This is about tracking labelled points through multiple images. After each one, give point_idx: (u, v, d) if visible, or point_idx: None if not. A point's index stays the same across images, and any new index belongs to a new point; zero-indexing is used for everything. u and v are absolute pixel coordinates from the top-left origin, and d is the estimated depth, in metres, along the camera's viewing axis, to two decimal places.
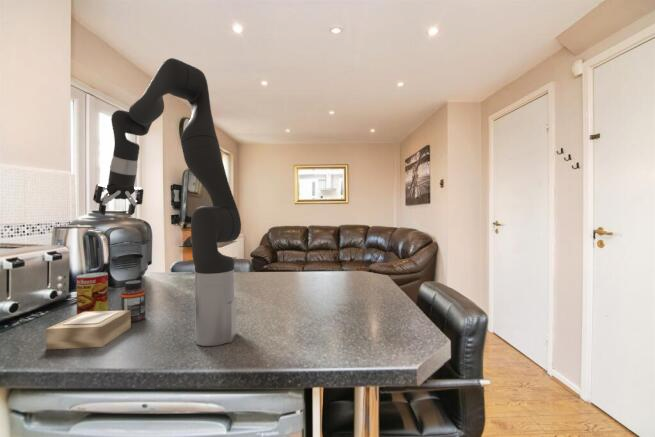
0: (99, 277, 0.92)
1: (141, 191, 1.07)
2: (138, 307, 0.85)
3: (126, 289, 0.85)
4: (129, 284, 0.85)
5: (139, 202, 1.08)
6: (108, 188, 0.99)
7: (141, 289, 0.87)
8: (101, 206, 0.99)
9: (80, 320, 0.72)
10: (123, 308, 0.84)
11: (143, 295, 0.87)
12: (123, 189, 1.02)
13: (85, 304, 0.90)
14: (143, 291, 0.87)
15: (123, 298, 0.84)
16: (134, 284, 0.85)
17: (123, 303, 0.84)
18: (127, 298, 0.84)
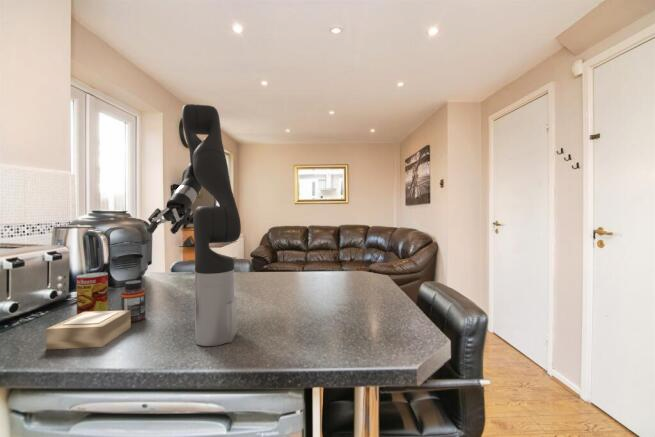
0: (99, 277, 0.92)
1: (188, 209, 1.03)
2: (138, 307, 0.85)
3: (126, 289, 0.85)
4: (129, 284, 0.85)
5: (183, 218, 1.00)
6: (163, 210, 1.05)
7: (141, 289, 0.87)
8: (151, 224, 1.01)
9: (80, 320, 0.72)
10: (123, 308, 0.84)
11: (143, 295, 0.87)
12: None
13: (85, 304, 0.90)
14: (143, 291, 0.87)
15: (123, 298, 0.84)
16: (134, 284, 0.85)
17: (123, 303, 0.84)
18: (127, 298, 0.84)
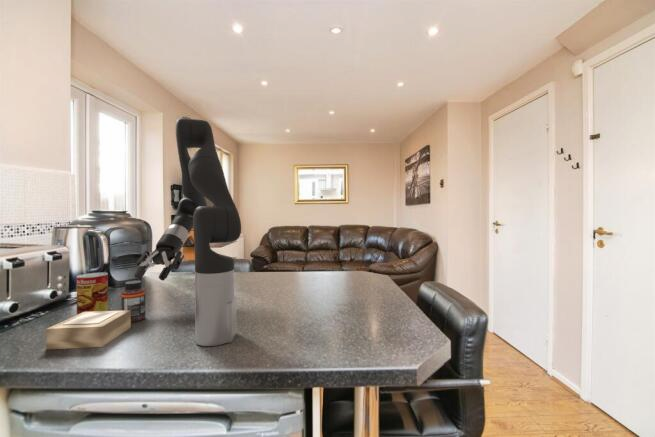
0: (99, 277, 0.92)
1: (178, 252, 0.98)
2: (138, 307, 0.85)
3: (126, 289, 0.85)
4: (129, 284, 0.85)
5: None
6: (152, 252, 1.00)
7: (141, 289, 0.87)
8: (139, 269, 0.96)
9: (80, 320, 0.72)
10: (123, 308, 0.84)
11: (143, 295, 0.87)
12: None
13: (85, 304, 0.90)
14: (143, 291, 0.87)
15: (123, 298, 0.84)
16: (134, 284, 0.85)
17: (123, 303, 0.84)
18: (127, 298, 0.84)
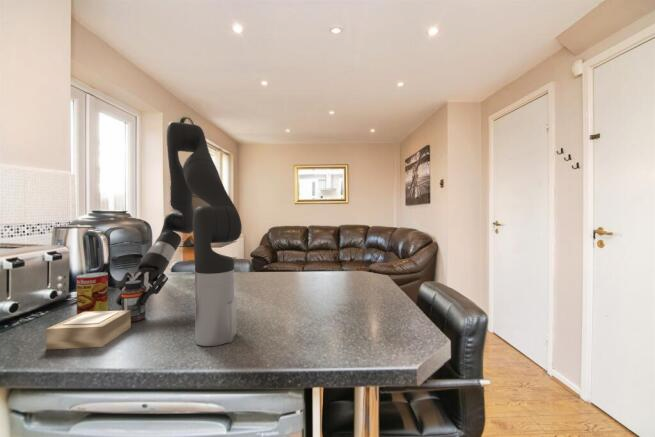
0: (99, 277, 0.92)
1: (161, 275, 0.90)
2: (138, 307, 0.85)
3: (126, 289, 0.85)
4: (129, 284, 0.85)
5: (152, 287, 0.87)
6: (134, 273, 0.92)
7: (141, 289, 0.87)
8: None
9: (80, 320, 0.72)
10: (123, 308, 0.84)
11: None
12: None
13: (85, 304, 0.90)
14: (143, 291, 0.87)
15: (123, 298, 0.84)
16: (134, 284, 0.85)
17: (123, 303, 0.84)
18: (127, 298, 0.84)
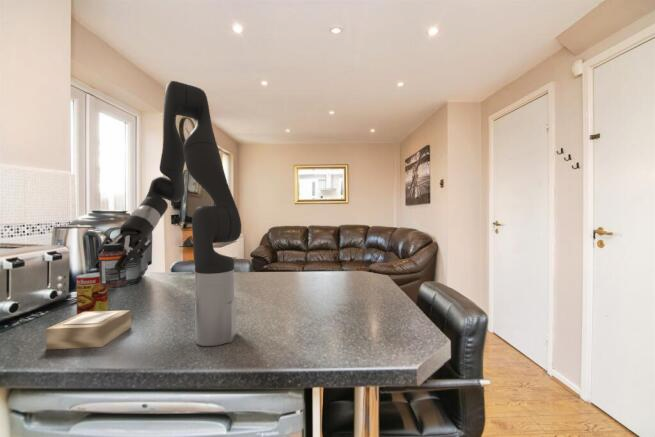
0: (99, 277, 0.92)
1: (143, 238, 0.83)
2: (117, 271, 0.78)
3: (104, 251, 0.78)
4: (107, 246, 0.78)
5: (132, 250, 0.80)
6: (115, 237, 0.85)
7: (121, 252, 0.80)
8: None
9: (80, 320, 0.72)
10: (101, 272, 0.77)
11: None
12: None
13: (85, 304, 0.90)
14: (123, 254, 0.80)
15: (100, 261, 0.77)
16: (113, 246, 0.78)
17: (100, 266, 0.77)
18: (104, 260, 0.77)
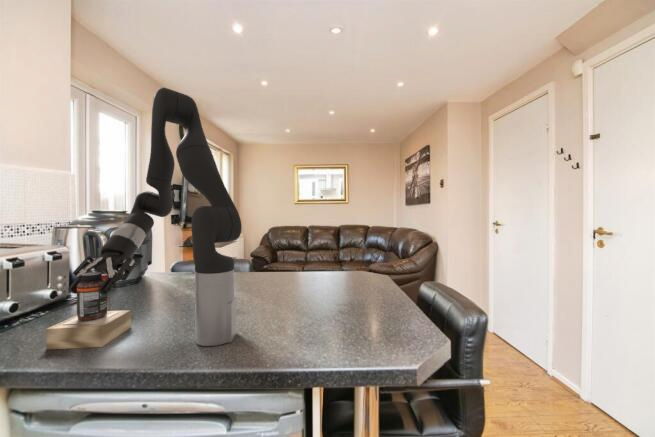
0: None
1: (127, 259, 0.78)
2: (96, 303, 0.73)
3: (82, 282, 0.72)
4: (86, 276, 0.72)
5: (118, 273, 0.75)
6: None
7: (101, 282, 0.74)
8: None
9: (80, 320, 0.72)
10: (78, 304, 0.72)
11: None
12: None
13: None
14: None
15: (78, 292, 0.72)
16: (92, 276, 0.73)
17: (78, 298, 0.72)
18: (83, 292, 0.71)
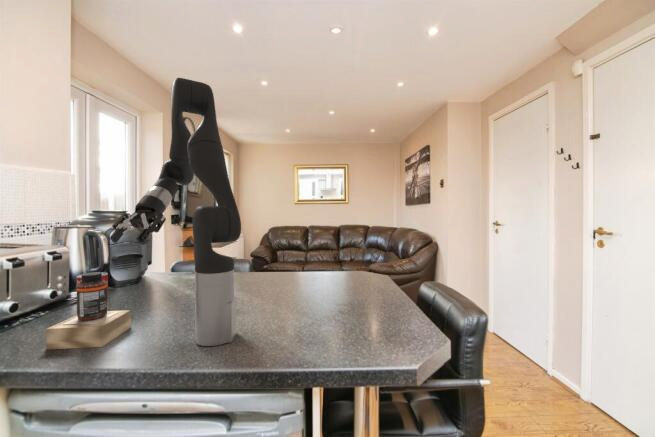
0: None
1: (159, 214, 0.89)
2: (96, 303, 0.73)
3: (82, 282, 0.72)
4: (86, 276, 0.72)
5: (152, 225, 0.86)
6: None
7: (101, 282, 0.74)
8: None
9: (80, 320, 0.72)
10: (78, 304, 0.72)
11: (103, 289, 0.74)
12: None
13: None
14: (103, 284, 0.74)
15: (78, 292, 0.72)
16: (92, 276, 0.73)
17: (78, 298, 0.72)
18: (83, 292, 0.71)
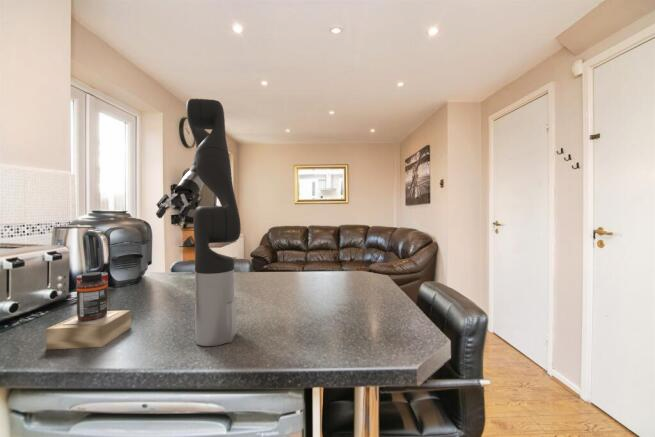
0: None
1: (196, 195, 1.04)
2: (96, 303, 0.73)
3: (82, 282, 0.72)
4: (86, 276, 0.72)
5: None
6: (171, 195, 1.06)
7: (101, 282, 0.74)
8: None
9: (80, 320, 0.72)
10: (78, 304, 0.72)
11: (103, 289, 0.74)
12: None
13: None
14: (103, 284, 0.74)
15: (78, 292, 0.72)
16: (92, 276, 0.73)
17: (78, 298, 0.72)
18: (83, 292, 0.71)
